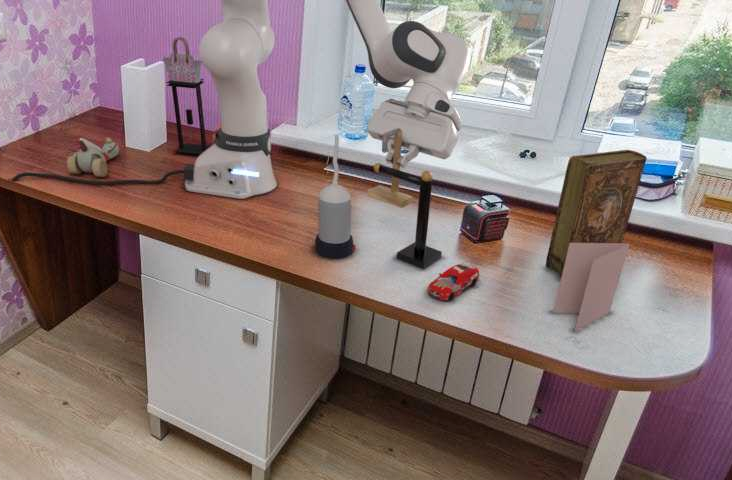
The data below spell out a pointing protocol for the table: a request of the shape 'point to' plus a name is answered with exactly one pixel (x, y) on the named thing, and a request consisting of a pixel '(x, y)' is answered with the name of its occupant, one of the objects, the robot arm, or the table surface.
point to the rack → (418, 250)
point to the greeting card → (590, 280)
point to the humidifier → (334, 218)
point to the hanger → (392, 194)
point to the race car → (453, 281)
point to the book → (595, 201)
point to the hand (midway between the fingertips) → (394, 163)
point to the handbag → (188, 76)
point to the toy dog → (92, 158)
